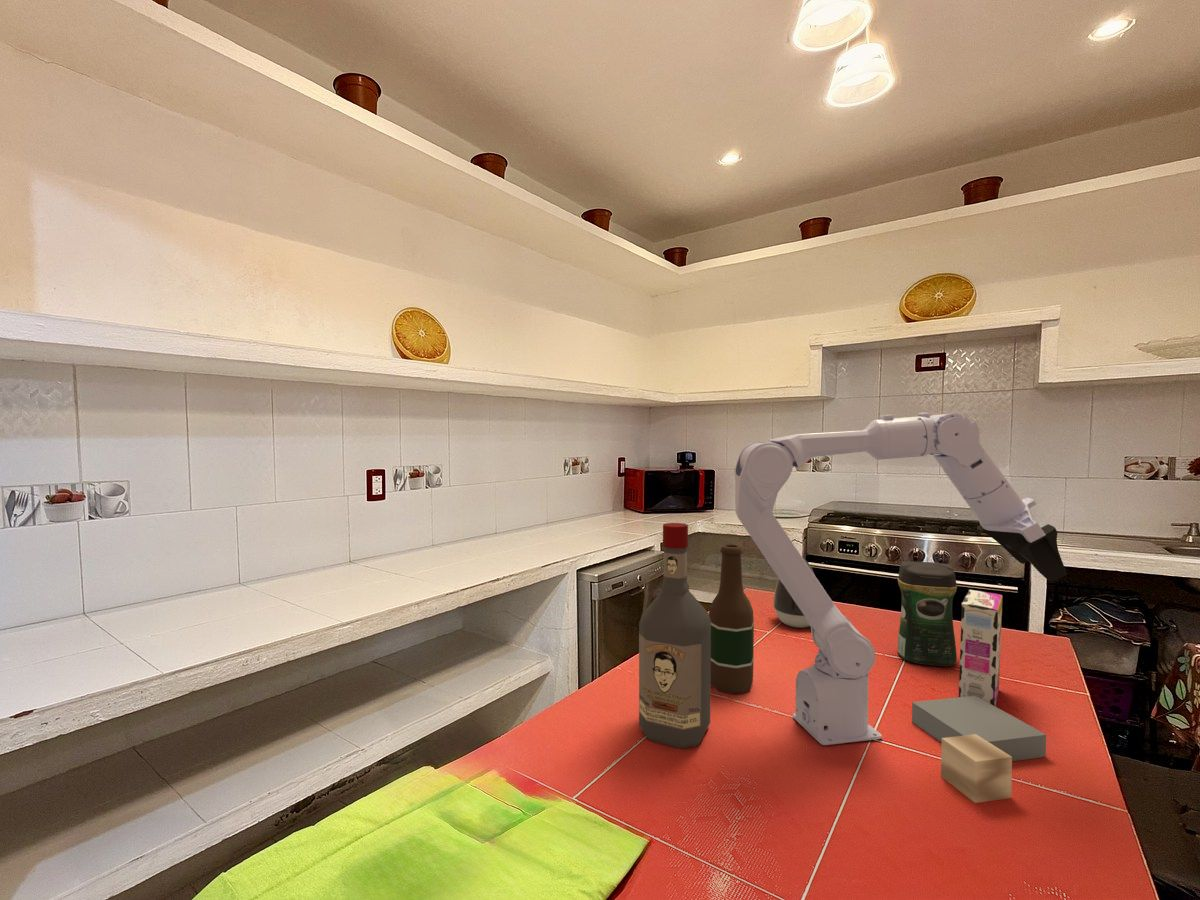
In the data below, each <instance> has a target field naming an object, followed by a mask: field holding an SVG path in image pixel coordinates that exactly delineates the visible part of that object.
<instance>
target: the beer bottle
mask: <svg viewBox="0 0 1200 900" xmlns="http://www.w3.org/2000/svg"><path fill="white" fill-rule="evenodd" d="M743 552H744V551H743V548H742V546H741V545H738V544H732V543H729V544H726V543H725V544H723V545H722V546H721V548H720V553H721V568H720V579H719V580H720V581H719V583H720V584H719V588H718V593H716V596H715V597H714V598H713V599H712V601H711V604H710V607H709V610H708V614H709V617H710V620H711V687H712V688H714V689H715V690H717V691H718V692H720V693H727V694H731V695H732V694H733V695H738V694H743V693H747V692H748V693H749V692H750V691H751V689H752V685H753V682H754V655H755V654H754V649H755V648H754V645H755V642H754V640H755V639H754V638H755V637H754V636H755V633H754V632H755V627H754V626H755V623H754V622H755V619H754V610H753V609H754V608H753V606H752V604H751V601H750V599H749V598H748V597H747V595H746V593H745V590H744V585H743V572H742V571H743V568H742V554H743Z"/></svg>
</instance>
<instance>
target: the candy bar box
mask: <svg viewBox="0 0 1200 900" xmlns="http://www.w3.org/2000/svg"><path fill="white" fill-rule="evenodd" d="M960 616H961V617H960V619H961V621H960V622H961V623H960V643H959V644H960V650H959V651H960V652H959V674H958V675H959V677H958V697H967V696H977V697H979V698H981V699H982V700H984V701H986V702H988V703H990V704H992V705H993V706H995V707H997V701H998V696H999V691H1000V690H999V689H1000V673H1001V672H1000V669H1001V668H1000V666H1001V642H1002V618H1003V617H1002V616H1003V595H1002V594H999V593H995V592H987V591H982V590H974V589H968V592H966V595H965V596H964V599H963V601H962V602H961V615H960Z"/></svg>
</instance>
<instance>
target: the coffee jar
mask: <svg viewBox="0 0 1200 900" xmlns="http://www.w3.org/2000/svg"><path fill="white" fill-rule="evenodd" d="M897 584H898V587H899V589H900V594H901V610H900V618H899V626H898V627H899V628H898V635H897V636H898V637H897V652H898V655H899V656H900V657H901V658H903V659H904V660H906V661H908V662H909V663H910V662H911V663H914V664H920V665H926V666H927V665H928V666H937V667H939V666H940V667H951V666H954V665H955V664H956V663H957V662H958V661H957V660H958V658H957V645H956V638H955V637H956V636H955V630H954V629H955V628H954V619H953V617H954V616H953V599H954V596H955V594H956V593H957V589H958V585H957V584H958V583H957V580H956V572H955V570H954V568H953V567H952V566H951V565H950V564H947V563H943V562H928V561H911V560H910V561H907V560H905V561H904V560H903V561H901V562H900V564H899V571H898V577H897Z"/></svg>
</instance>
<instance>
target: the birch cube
mask: <svg viewBox="0 0 1200 900" xmlns="http://www.w3.org/2000/svg"><path fill="white" fill-rule="evenodd" d="M940 743H941V742H940ZM940 746H941V752H940V753H941V755H940V756H941V757H940V758H941V759H940V762H941V763H940V765H941V766H940V777H941V778H942V779H943V780H945V781H946V782H948V783H949V784H950V785H951V786H952V787H954V788H955V789H956V790H958V791H959V792H960V793H961V794H963V795H964V796H965V797H967V798H968V799H969V800H970V801H972V802H973V803H975V804H978V803H984V802H985V803H986V802H991V801H998V800H1004V799H1005V800H1007V799H1012V781H1013V780H1012V777H1013V776H1012V775H1013V773H1012V772H1013V761H1012V757H1011V756H1010V755H1008V754H1007V753H1005V752H1003V751H1002V750H1000V749H999V748H997V747H995V746H994V745H992V744H991V743H989V742H988V741H986V740H984V739H983V738H981V737H980V736H978V735H976V734H972V735H964V736H956V737H947V738H942V743H941V745H940Z"/></svg>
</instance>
